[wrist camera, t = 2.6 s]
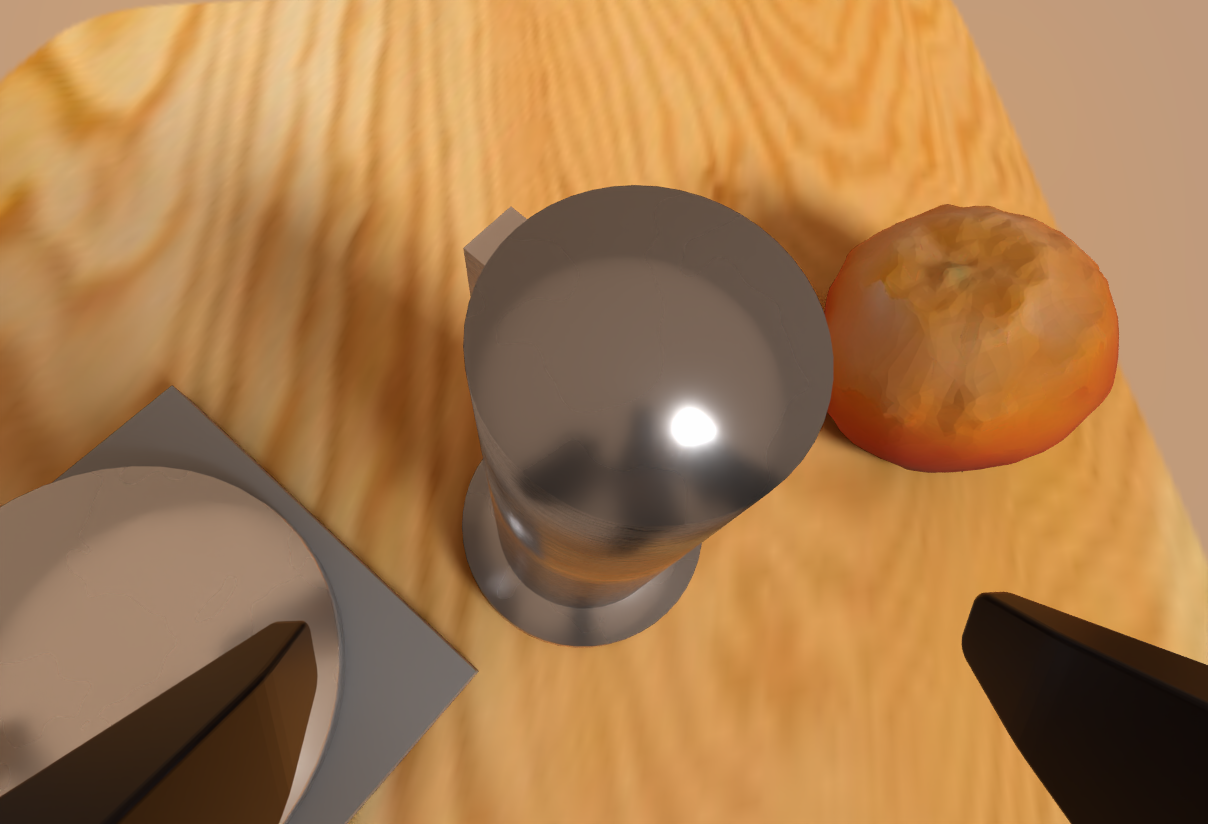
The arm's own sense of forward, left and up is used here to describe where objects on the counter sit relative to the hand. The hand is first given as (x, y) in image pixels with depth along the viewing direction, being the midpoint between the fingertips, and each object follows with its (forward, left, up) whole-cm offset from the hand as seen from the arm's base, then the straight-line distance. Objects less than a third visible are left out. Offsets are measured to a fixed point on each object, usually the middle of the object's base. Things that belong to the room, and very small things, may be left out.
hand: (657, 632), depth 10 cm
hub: (+3, +3, -12) cm, 12 cm away
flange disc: (-8, +9, -11) cm, 16 cm away
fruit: (+14, -2, -12) cm, 18 cm away
